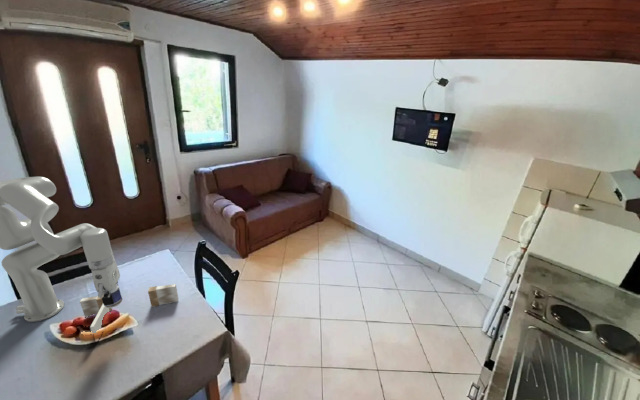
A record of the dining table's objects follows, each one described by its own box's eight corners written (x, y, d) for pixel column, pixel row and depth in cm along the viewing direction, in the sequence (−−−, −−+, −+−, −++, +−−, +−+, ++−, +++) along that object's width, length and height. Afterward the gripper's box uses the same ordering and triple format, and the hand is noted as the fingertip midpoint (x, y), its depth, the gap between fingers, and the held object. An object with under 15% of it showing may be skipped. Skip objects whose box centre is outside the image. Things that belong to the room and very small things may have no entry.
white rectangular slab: (104, 317, 116) (100, 303, 113) (111, 316, 117) (106, 302, 114) (91, 342, 105) (86, 327, 102) (99, 341, 105) (93, 326, 102)
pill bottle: (126, 300, 107) (120, 280, 104) (112, 310, 102) (106, 289, 99) (115, 296, 109) (109, 277, 105) (100, 306, 103) (94, 286, 100)
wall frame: (84, 318, 115) (79, 302, 112) (87, 313, 118) (82, 297, 115) (177, 302, 127) (174, 287, 124) (178, 298, 129) (175, 283, 126)
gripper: (104, 272, 92) (115, 312, 98) (121, 247, 107) (130, 283, 113) (77, 276, 89) (91, 316, 96) (98, 249, 104) (109, 286, 111)
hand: (112, 298), depth 104 cm, fingers closed on pill bottle, 5 cm apart
